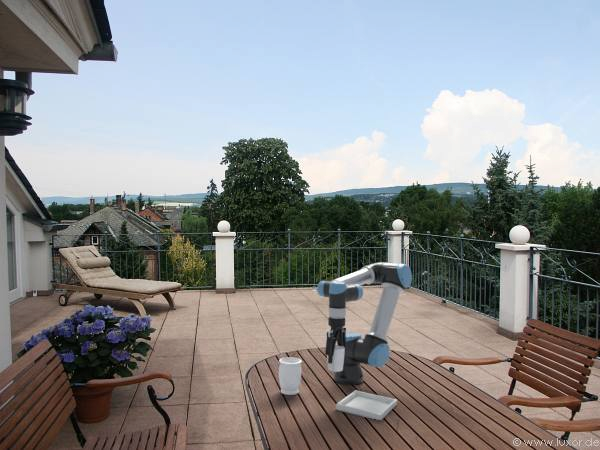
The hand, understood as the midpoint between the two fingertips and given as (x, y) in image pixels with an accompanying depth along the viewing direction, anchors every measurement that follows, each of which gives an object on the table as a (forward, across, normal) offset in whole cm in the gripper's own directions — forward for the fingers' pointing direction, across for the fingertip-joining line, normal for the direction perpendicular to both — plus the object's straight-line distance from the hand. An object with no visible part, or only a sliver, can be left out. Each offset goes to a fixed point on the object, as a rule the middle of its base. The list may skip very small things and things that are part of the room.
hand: (335, 367), depth 211 cm
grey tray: (+15, -3, +14) cm, 21 cm away
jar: (+15, +3, -23) cm, 27 cm away
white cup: (+1, 0, 0) cm, 1 cm away
